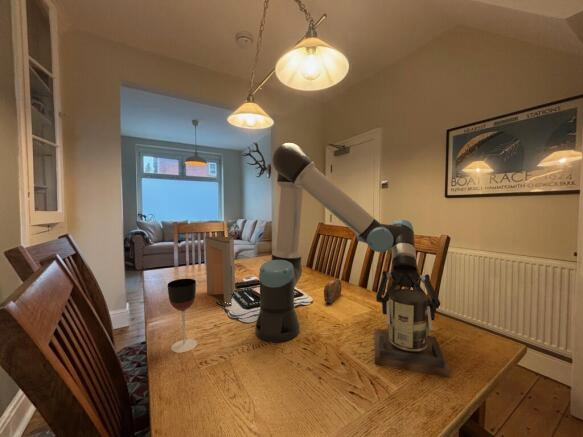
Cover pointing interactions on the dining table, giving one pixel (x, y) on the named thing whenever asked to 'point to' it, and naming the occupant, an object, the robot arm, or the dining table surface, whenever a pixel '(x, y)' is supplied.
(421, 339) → the coffee can
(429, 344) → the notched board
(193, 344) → the wineglass
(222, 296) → the cabinet
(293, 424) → the dining table surface
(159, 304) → the dining table surface
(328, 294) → the brown rounded slab
